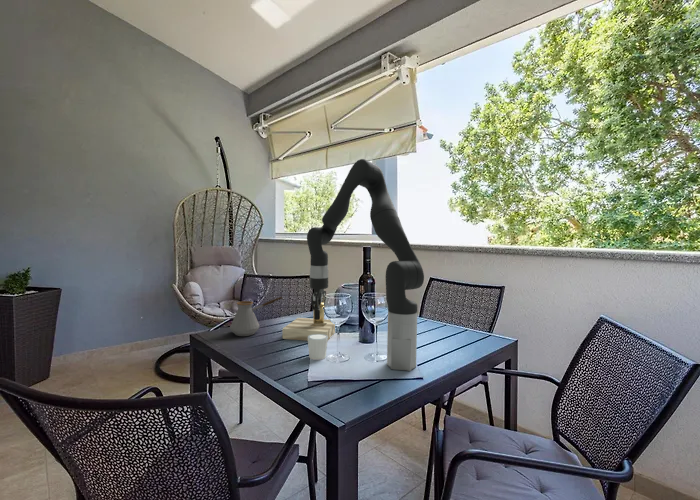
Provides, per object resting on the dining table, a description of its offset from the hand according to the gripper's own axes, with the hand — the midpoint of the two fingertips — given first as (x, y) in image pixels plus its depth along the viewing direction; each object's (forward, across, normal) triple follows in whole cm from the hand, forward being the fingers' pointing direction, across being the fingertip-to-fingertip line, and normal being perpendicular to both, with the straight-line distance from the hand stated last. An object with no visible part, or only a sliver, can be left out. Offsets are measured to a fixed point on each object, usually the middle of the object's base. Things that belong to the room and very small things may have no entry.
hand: (318, 317), depth 143 cm
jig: (+7, 0, +3) cm, 8 cm away
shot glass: (+7, -25, -7) cm, 27 cm away
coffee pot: (+7, -4, +25) cm, 26 cm away
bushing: (+2, 0, 0) cm, 2 cm away
